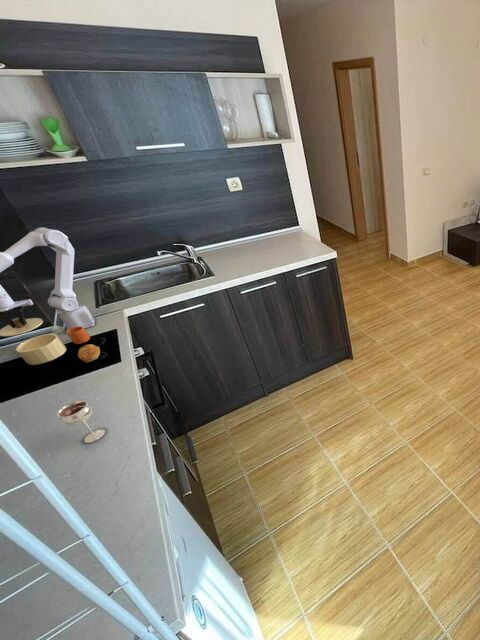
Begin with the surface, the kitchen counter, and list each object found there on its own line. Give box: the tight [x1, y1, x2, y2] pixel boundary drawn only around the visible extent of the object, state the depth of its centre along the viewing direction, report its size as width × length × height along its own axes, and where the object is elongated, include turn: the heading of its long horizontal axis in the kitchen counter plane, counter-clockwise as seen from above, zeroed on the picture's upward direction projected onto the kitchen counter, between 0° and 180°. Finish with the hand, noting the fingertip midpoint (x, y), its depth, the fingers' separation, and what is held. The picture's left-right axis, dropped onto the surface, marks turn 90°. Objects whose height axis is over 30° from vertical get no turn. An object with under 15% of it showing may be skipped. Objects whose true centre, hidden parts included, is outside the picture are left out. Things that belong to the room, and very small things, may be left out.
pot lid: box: [0, 317, 44, 337], centre depth 140 cm, size 13×13×4 cm
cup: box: [66, 326, 91, 345], centre depth 148 cm, size 5×6×6 cm
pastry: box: [77, 343, 101, 364], centre depth 138 cm, size 9×7×4 cm
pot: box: [15, 333, 67, 366], centre depth 139 cm, size 12×12×6 cm
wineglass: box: [56, 399, 106, 444], centre depth 103 cm, size 7×7×12 cm
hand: (19, 325), depth 141 cm, fingers closed on pot lid, 2 cm apart
